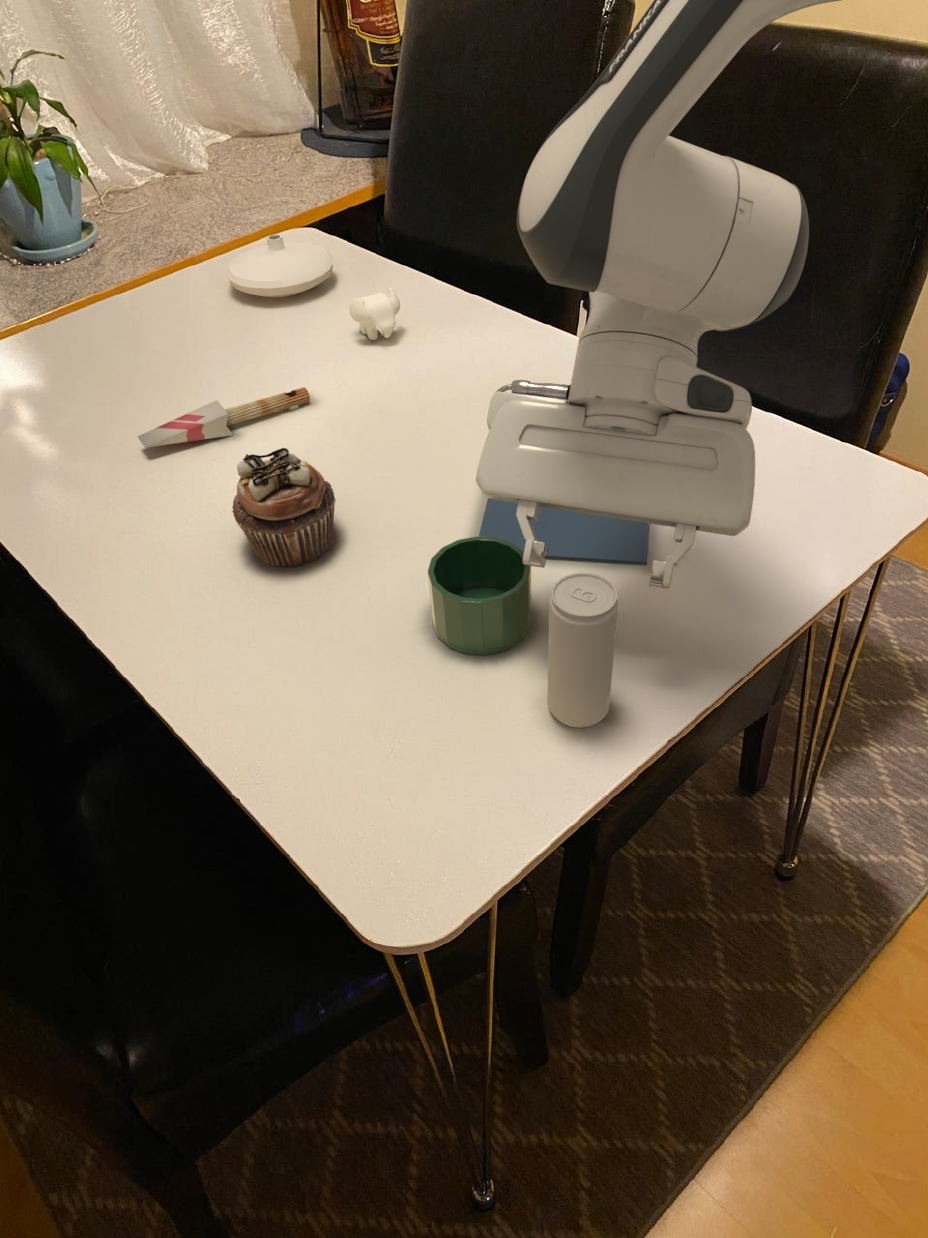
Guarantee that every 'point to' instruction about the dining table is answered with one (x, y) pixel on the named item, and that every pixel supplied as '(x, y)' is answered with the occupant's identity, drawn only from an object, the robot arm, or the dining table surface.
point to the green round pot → (480, 595)
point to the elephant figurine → (376, 313)
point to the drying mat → (571, 534)
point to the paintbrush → (218, 419)
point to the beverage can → (581, 648)
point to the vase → (279, 268)
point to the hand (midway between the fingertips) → (595, 576)
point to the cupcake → (284, 508)
